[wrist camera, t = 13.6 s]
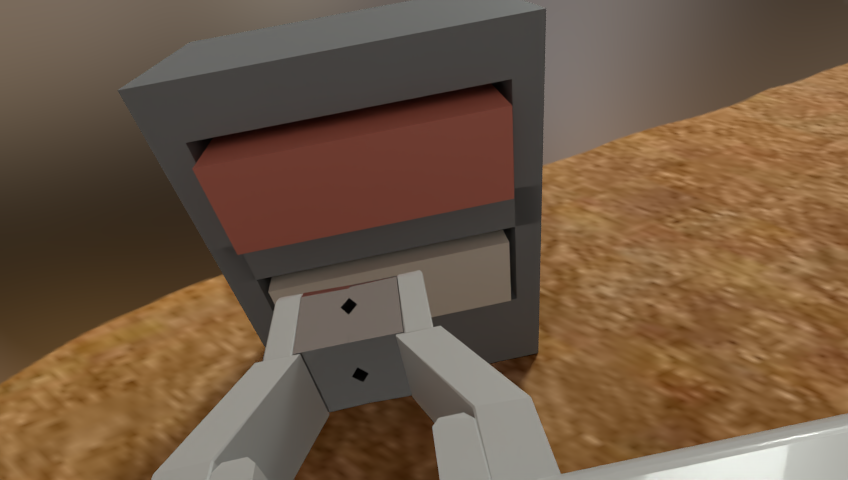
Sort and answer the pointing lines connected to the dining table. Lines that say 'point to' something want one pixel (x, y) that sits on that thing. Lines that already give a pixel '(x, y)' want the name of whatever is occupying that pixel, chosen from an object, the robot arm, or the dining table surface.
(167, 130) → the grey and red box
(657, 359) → the dining table surface
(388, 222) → the red button
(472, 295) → the pale button
